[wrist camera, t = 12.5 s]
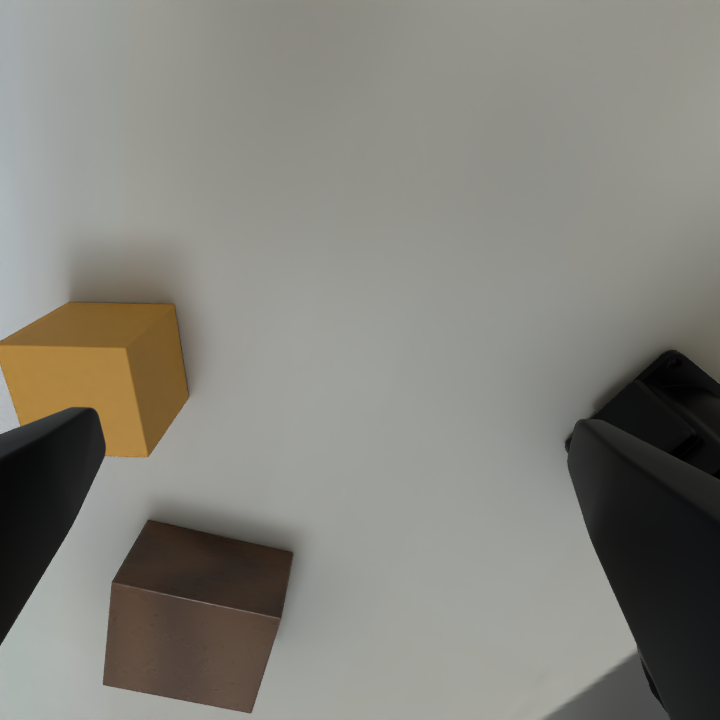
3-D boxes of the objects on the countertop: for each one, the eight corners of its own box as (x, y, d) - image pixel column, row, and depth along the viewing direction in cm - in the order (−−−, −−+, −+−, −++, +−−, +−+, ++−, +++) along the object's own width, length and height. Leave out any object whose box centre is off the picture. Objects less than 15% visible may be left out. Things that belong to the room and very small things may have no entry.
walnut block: (294, 552, 27) (281, 618, 23) (265, 644, 30) (251, 714, 27) (147, 519, 26) (111, 582, 23) (135, 617, 30) (102, 685, 26)
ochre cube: (174, 304, 21) (125, 347, 17) (189, 398, 23) (148, 457, 19) (67, 301, 21) (-7, 344, 17) (91, 395, 23) (29, 454, 19)
